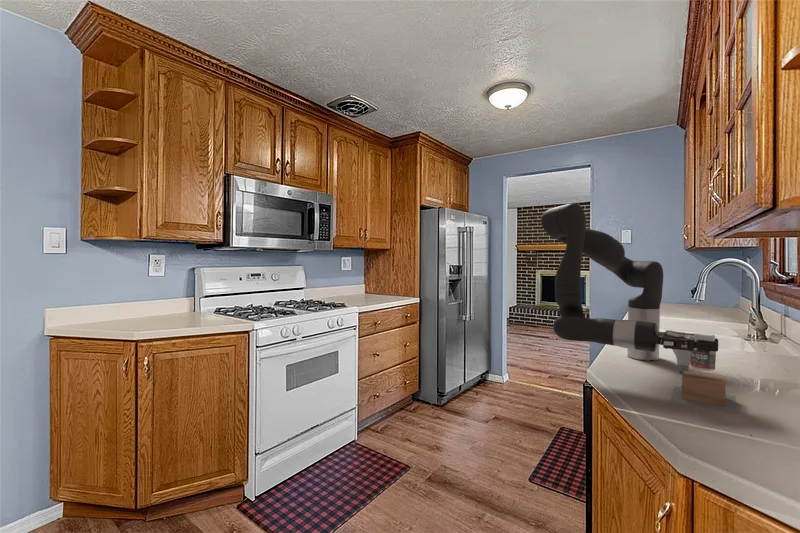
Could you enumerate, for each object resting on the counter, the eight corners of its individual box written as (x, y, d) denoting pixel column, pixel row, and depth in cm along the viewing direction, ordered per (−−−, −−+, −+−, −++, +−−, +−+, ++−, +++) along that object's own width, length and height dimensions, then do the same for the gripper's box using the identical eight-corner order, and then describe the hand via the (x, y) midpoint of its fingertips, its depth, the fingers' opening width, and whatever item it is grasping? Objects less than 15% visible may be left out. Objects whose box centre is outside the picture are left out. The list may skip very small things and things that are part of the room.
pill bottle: (685, 366, 95) (687, 332, 95) (697, 364, 97) (699, 331, 97) (707, 372, 91) (709, 336, 90) (719, 370, 93) (721, 335, 92)
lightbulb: (665, 371, 118) (666, 335, 117) (680, 369, 120) (681, 334, 119) (686, 377, 112) (687, 339, 112) (701, 375, 114) (702, 337, 114)
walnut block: (683, 390, 100) (683, 370, 99) (724, 397, 95) (724, 376, 94) (681, 398, 93) (681, 377, 93) (725, 406, 88) (725, 384, 88)
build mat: (674, 387, 103) (674, 385, 103) (734, 397, 96) (734, 395, 96) (670, 401, 92) (670, 400, 92) (737, 414, 85) (737, 413, 85)
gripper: (630, 324, 97) (719, 333, 86) (639, 317, 108) (718, 325, 97) (629, 354, 97) (717, 367, 86) (638, 344, 108) (717, 355, 98)
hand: (717, 345), depth 92 cm, fingers closed on pill bottle, 4 cm apart
